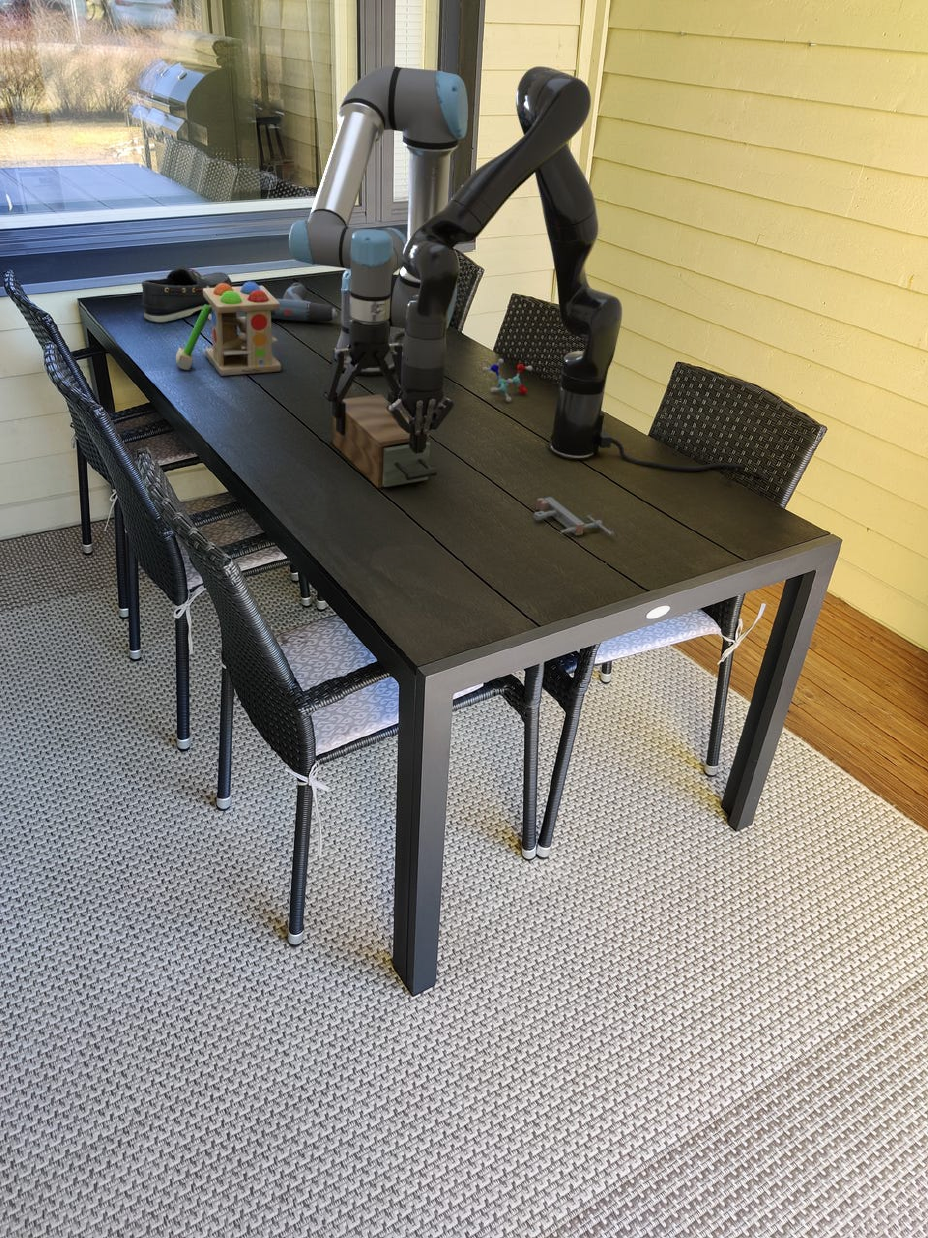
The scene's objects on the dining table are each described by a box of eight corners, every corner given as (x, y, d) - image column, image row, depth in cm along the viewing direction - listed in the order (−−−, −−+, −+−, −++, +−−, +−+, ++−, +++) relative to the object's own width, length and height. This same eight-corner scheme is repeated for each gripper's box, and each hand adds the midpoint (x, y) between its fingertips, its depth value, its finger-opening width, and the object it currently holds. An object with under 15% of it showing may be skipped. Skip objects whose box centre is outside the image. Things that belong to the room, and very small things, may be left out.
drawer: (443, 493, 184) (446, 456, 179) (399, 501, 179) (401, 464, 175) (382, 438, 202) (383, 403, 197) (341, 444, 197) (341, 409, 193)
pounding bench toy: (183, 379, 220) (176, 299, 210) (169, 357, 231) (162, 280, 221) (282, 371, 230) (280, 294, 220) (264, 350, 240) (262, 276, 230)
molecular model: (528, 394, 221) (514, 351, 219) (490, 408, 224) (476, 365, 223) (540, 392, 231) (527, 351, 230) (504, 406, 235) (491, 365, 234)
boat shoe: (251, 301, 273) (249, 262, 267) (161, 324, 249) (157, 282, 243) (217, 292, 278) (215, 254, 273) (126, 314, 254) (121, 273, 249)
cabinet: (426, 479, 190) (429, 434, 185) (377, 487, 185) (379, 442, 180) (378, 436, 204) (380, 393, 199) (332, 443, 200) (333, 400, 195)
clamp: (523, 501, 180) (568, 492, 185) (522, 511, 182) (566, 502, 186) (570, 539, 170) (616, 528, 174) (568, 550, 171) (614, 539, 176)
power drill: (344, 304, 276) (335, 327, 259) (277, 298, 275) (264, 321, 258) (344, 285, 273) (335, 306, 256) (277, 279, 272) (264, 300, 255)
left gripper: (320, 330, 176) (320, 444, 189) (432, 319, 187) (425, 428, 199) (304, 317, 181) (305, 428, 194) (414, 308, 192) (408, 414, 204)
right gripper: (399, 370, 163) (394, 465, 173) (467, 362, 170) (458, 454, 179) (379, 355, 169) (375, 448, 178) (446, 348, 175) (439, 438, 184)
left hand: (366, 428), depth 196 cm, fingers closed on cabinet, 10 cm apart
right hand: (417, 451), depth 179 cm, fingers closed
